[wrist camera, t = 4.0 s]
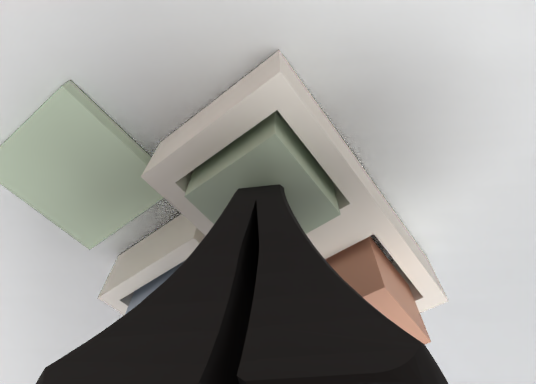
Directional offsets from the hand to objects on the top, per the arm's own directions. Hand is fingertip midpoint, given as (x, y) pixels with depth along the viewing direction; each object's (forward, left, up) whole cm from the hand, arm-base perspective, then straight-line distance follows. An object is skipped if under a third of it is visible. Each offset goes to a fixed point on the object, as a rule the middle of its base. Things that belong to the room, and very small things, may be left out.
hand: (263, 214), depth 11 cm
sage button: (0, 0, -3) cm, 3 cm away
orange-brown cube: (0, -6, -2) cm, 6 cm away
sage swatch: (-6, +4, -3) cm, 8 cm away
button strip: (0, -3, -3) cm, 4 cm away
